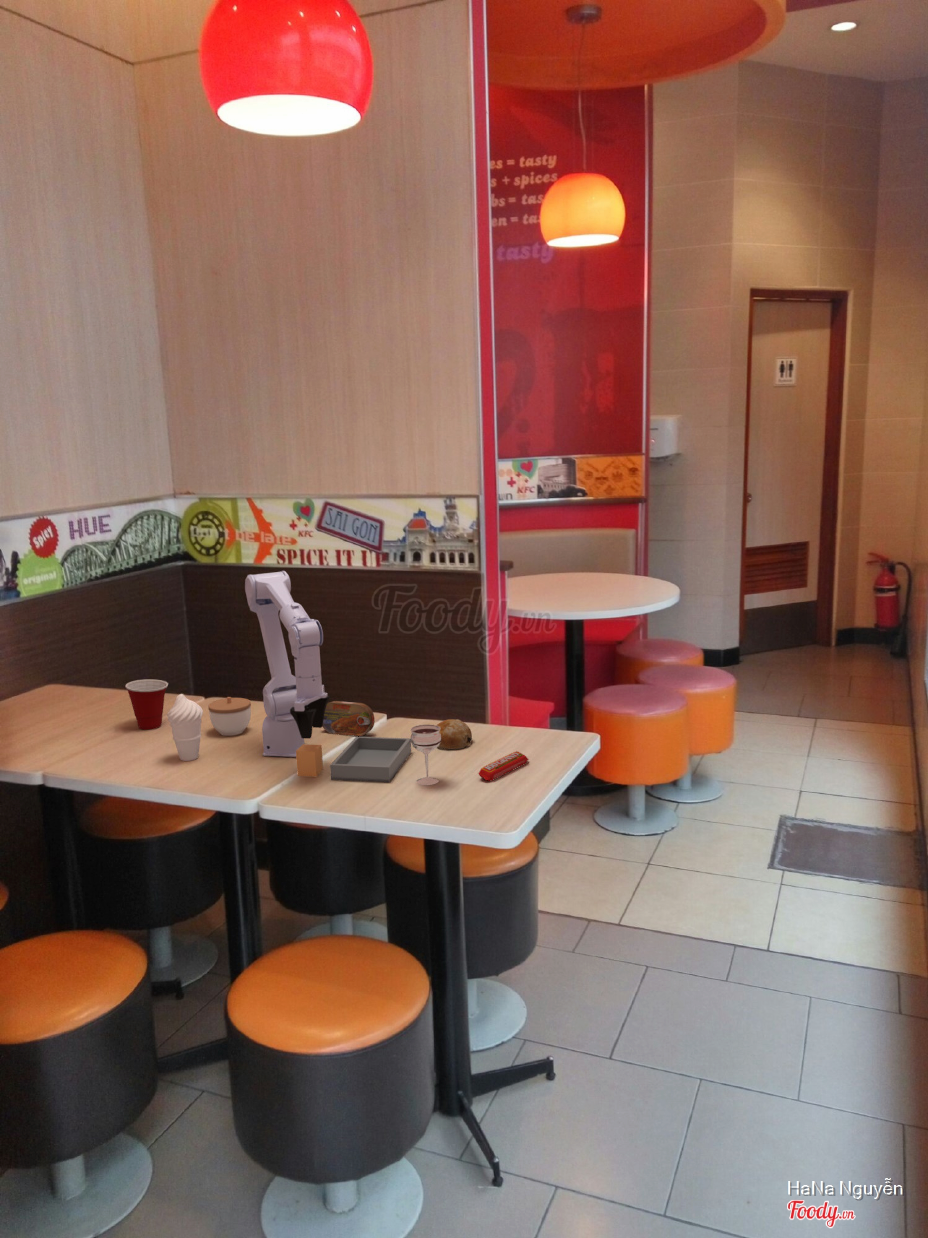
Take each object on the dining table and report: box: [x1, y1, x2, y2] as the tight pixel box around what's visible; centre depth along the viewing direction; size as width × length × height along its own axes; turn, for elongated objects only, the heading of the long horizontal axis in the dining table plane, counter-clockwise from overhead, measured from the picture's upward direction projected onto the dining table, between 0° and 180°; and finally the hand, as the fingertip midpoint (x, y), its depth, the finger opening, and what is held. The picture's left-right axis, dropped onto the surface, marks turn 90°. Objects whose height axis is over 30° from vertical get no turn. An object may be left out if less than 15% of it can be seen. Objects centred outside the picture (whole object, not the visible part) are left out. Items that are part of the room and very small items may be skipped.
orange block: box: [295, 743, 324, 778], centre depth 223 cm, size 4×4×6 cm
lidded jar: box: [207, 696, 252, 737], centre depth 253 cm, size 11×11×9 cm
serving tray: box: [329, 736, 412, 783], centre depth 226 cm, size 14×20×4 cm
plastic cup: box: [125, 678, 169, 731], centre depth 260 cm, size 11×11×12 cm
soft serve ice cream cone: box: [166, 693, 204, 762], centre depth 234 cm, size 8×8×16 cm
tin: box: [322, 700, 376, 737], centre depth 249 cm, size 15×3×8 cm, turn 67°
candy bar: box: [478, 750, 530, 782], centre depth 220 cm, size 16×4×3 cm, turn 141°
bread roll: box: [435, 718, 473, 751], centre depth 239 cm, size 10×10×8 cm
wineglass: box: [409, 724, 441, 786], centre depth 215 cm, size 7×7×12 cm
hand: (312, 732), depth 222 cm, fingers open, 7 cm apart
